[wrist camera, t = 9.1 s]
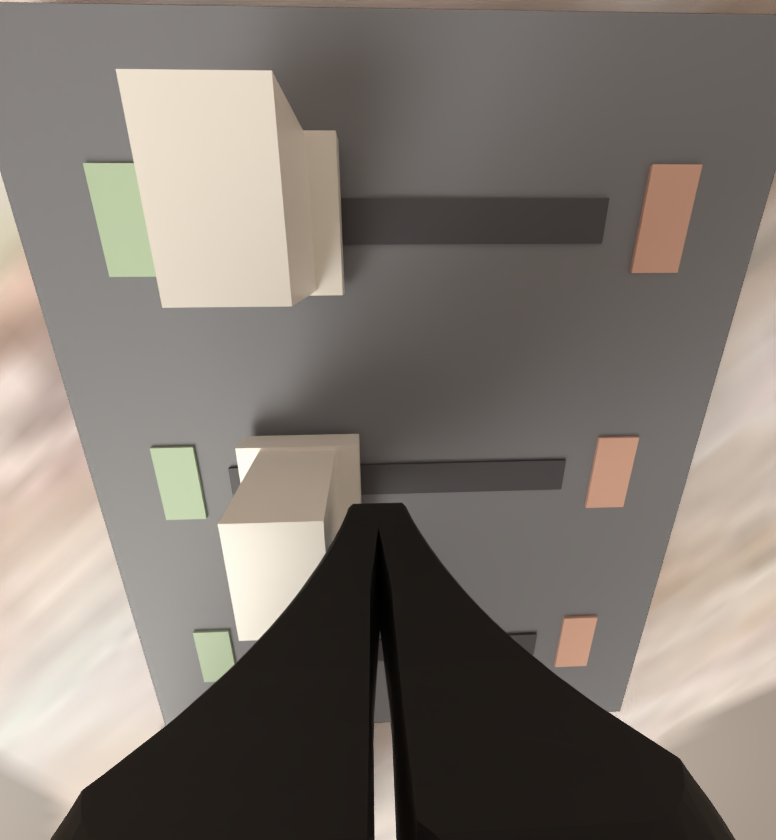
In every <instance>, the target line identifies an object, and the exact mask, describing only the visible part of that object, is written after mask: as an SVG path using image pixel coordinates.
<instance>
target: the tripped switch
mask: <svg viewBox="0 0 776 840" xmlns="http://www.w3.org/2000/svg"><path fill="white" fill-rule="evenodd" d="M235 451H236V457H237V464H238V470H239V477H240V483H241V484H240V486H239V487H238V489H237V491H236V493H235V494H234V496H233V498H232V500H231V502H230V503H229V505H228V507H227V509H226V510H225V512H224V514H223V516H222V517H221V519H220V521H219V523H218V529H219V534H220V540H221V545H222V551H223V556H224V562H225V567H226V573H227V578H228V584H229V589H230V595H231V600H232V606H233V611H234V617H235V622H236V628H237V633H238V639H239V641H251V640H258V639H259V638H260V637H261V636H262V635H263V634H264V633H265V632H266V631H267V630H268V629H269V628H270V627H271V625H272V624H273V623H274V622H275V621H276V620H277V618H278V617H279V616H280V615H281V614H282V613H283V611H284V610H285V609H286V608H287V607H288V605H289V604H290V603H291V602H292V600H293V599H294V598H295V596H296V595H297V594H298V593H299V591H300V590H301V589H302V587H303V586H304V584H305V583H306V581H307V580H308V579H309V577H310V576H311V574H312V573H313V571H314V570H315V569H316V567H317V566H318V564H319V563H320V561H321V560H322V558H323V556H324V555H325V553H326V551H327V550H328V548H329V546H330V545H331V543H332V541H333V540H334V538H335V536H336V534H337V532H338V531H339V529H340V527H341V525H342V523H343V521H344V518H345V516H346V514H347V511H348V508H349V507H350V506H351V505H352V504H361V474H360V443H359V434H323V435H276V436H244V437H243V438H242V439H241V441H240V442H239V444H238V445H237V447H236V448H235Z"/></svg>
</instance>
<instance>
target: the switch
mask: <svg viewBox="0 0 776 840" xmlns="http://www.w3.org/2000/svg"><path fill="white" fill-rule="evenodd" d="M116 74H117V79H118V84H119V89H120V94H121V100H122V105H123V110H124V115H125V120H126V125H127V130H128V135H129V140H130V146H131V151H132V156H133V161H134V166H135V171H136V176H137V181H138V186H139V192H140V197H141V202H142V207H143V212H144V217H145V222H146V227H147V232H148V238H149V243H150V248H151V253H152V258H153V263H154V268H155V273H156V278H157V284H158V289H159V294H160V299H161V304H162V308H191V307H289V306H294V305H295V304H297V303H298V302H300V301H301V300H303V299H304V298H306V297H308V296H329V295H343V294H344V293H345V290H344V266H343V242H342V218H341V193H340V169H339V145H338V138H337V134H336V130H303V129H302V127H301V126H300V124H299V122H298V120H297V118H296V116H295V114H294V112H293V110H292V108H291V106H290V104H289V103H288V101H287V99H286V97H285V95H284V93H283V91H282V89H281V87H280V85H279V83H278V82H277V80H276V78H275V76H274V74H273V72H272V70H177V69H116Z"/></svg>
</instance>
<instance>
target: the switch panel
mask: <svg viewBox="0 0 776 840" xmlns="http://www.w3.org/2000/svg"><path fill="white" fill-rule="evenodd" d="M116 69H177V70H272V72H273V74H274V76H275V78H276V80H277V82H278V83H279V85H280V87H281V89H282V91H283V93H284V95H285V97H286V99H287V101H288V103H289V104H290V106H291V108H292V110H293V112H294V114H295V116H296V118H297V120H298V122H299V124H300V126H301V127H302V129H303V130H336V134H337V138H338V145H339V169H340V193H341V218H342V242H343V266H344V290H345V293H344V294H343V295H329V296H308V297H306V298H304V299H303V300H301V301H300V302H298V303H297V304H295V305H294V306H289V307H191V308H162V304H161V299H160V294H159V289H158V284H157V278H156V273H155V268H154V263H153V258H152V253H151V248H150V243H149V238H148V232H147V227H146V222H145V217H144V212H143V207H142V202H141V197H140V192H139V186H138V181H137V176H136V171H135V166H134V161H133V156H132V151H131V146H130V140H129V135H128V130H127V125H126V120H125V115H124V110H123V105H122V100H121V94H120V89H119V84H118V79H117V74H116ZM775 170H776V15H775V14H713V13H651V12H589V11H526V10H464V9H402V8H339V7H277V6H215V5H153V4H90V3H28V2H0V172H1V175H2V178H3V182H4V185H5V188H6V192H7V195H8V198H9V202H10V205H11V209H12V212H13V215H14V219H15V222H16V225H17V229H18V232H19V235H20V239H21V242H22V245H23V249H24V252H25V256H26V259H27V262H28V266H29V269H30V272H31V276H32V279H33V282H34V286H35V289H36V292H37V296H38V299H39V303H40V306H41V309H42V313H43V316H44V319H45V323H46V326H47V329H48V333H49V336H50V340H51V343H52V346H53V350H54V353H55V356H56V360H57V363H58V366H59V370H60V373H61V376H62V380H63V383H64V387H65V390H66V393H67V397H68V400H69V403H70V407H71V410H72V413H73V417H74V420H75V423H76V427H77V430H78V434H79V437H80V440H81V444H82V447H83V450H84V454H85V457H86V460H87V464H88V467H89V471H90V474H91V477H92V481H93V484H94V487H95V491H96V494H97V497H98V501H99V504H100V507H101V511H102V514H103V518H104V521H105V524H106V528H107V531H108V534H109V538H110V541H111V544H112V548H113V551H114V554H115V558H116V561H117V565H118V568H119V571H120V575H121V578H122V581H123V585H124V588H125V591H126V595H127V598H128V602H129V605H130V608H131V612H132V615H133V618H134V622H135V625H136V628H137V632H138V635H139V638H140V642H141V645H142V649H143V652H144V655H145V659H146V662H147V665H148V669H149V672H150V675H151V679H152V682H153V685H154V689H155V692H156V696H157V699H158V702H159V706H160V709H161V712H162V716H163V719H164V722H165V726H166V725H167V724H169V723H170V722H171V721H172V720H173V719H175V718H176V717H177V716H178V715H179V714H180V713H182V712H183V711H184V710H185V709H186V708H187V707H188V706H189V705H190V704H192V703H193V702H194V701H195V700H196V699H197V698H198V697H199V696H200V695H202V694H203V693H204V692H205V691H206V690H207V689H208V688H209V687H210V686H212V685H213V684H214V683H215V682H216V681H217V680H218V679H219V678H220V677H222V676H223V675H224V674H225V673H226V672H227V671H228V670H229V669H230V668H231V667H232V666H233V665H234V664H235V663H236V662H237V661H238V660H239V659H240V658H241V657H242V656H243V655H244V654H245V653H246V652H247V651H248V650H249V649H250V648H251V647H252V646H253V645H254V644H255V643H256V642H257V640H251V641H239V639H238V633H237V628H236V622H235V617H234V611H233V606H232V600H231V595H230V589H229V584H228V578H227V573H226V567H225V562H224V556H223V551H222V545H221V540H220V534H219V529H218V523H219V521H220V519H221V517H222V516H223V514H224V512H225V510H226V509H227V507H228V505H229V503H230V502H231V500H232V498H233V496H234V494H235V493H236V491H237V489H238V487H239V486H240V484H241V483H240V477H239V470H238V464H237V457H236V451H235V448H236V447H237V445H238V444H239V442H240V441H241V439H242V438H243V437H244V436H276V435H323V434H359V443H360V474H361V504H364V503H403V504H404V505H405V506H406V507H407V509H408V512H409V514H410V516H411V517H412V519H413V521H414V523H415V524H416V526H417V528H418V529H419V531H420V532H421V534H422V536H423V537H424V539H425V540H426V542H427V543H428V545H429V546H430V547H431V549H432V550H433V551H434V553H435V554H436V556H437V557H438V558H439V560H440V561H441V562H442V564H443V565H444V566H445V568H446V569H447V570H448V571H449V573H450V574H451V575H452V576H453V577H454V579H455V580H456V581H457V582H458V583H459V585H460V586H461V587H462V588H463V589H464V590H465V591H466V593H467V594H468V595H469V596H470V597H471V598H472V599H473V600H474V601H475V602H476V603H477V604H478V606H479V607H480V608H481V609H482V610H483V611H484V612H485V613H486V614H487V615H488V616H489V617H490V618H491V619H492V620H493V621H494V622H495V623H497V624H498V625H499V626H500V627H501V628H502V629H503V630H504V631H505V632H506V633H507V634H508V635H509V636H510V637H512V638H513V639H514V640H515V641H516V642H517V643H518V644H520V645H521V646H522V647H523V648H524V649H526V650H527V651H528V652H529V653H530V654H532V655H533V656H534V657H535V658H537V659H538V660H539V661H540V662H541V663H543V664H544V665H545V666H546V667H547V668H549V669H550V670H551V671H552V672H553V673H555V674H556V675H557V676H559V677H560V678H561V679H563V680H564V681H565V682H567V683H568V684H569V685H571V686H572V687H574V688H575V689H576V690H578V691H579V692H580V693H582V694H583V695H584V696H586V697H587V698H589V699H590V700H591V701H593V702H594V703H595V704H597V705H598V706H600V707H601V708H603V709H604V710H606V711H607V712H615V711H620V709H621V705H622V702H623V698H624V695H625V691H626V688H627V684H628V681H629V677H630V674H631V670H632V667H633V663H634V660H635V656H636V653H637V650H638V646H639V643H640V639H641V636H642V632H643V629H644V625H645V622H646V618H647V615H648V611H649V608H650V604H651V601H652V597H653V594H654V590H655V587H656V584H657V580H658V577H659V573H660V570H661V566H662V563H663V559H664V556H665V552H666V549H667V545H668V542H669V538H670V535H671V531H672V528H673V524H674V521H675V517H676V514H677V511H678V507H679V504H680V500H681V497H682V493H683V490H684V486H685V483H686V479H687V476H688V472H689V469H690V465H691V462H692V458H693V455H694V451H695V448H696V445H697V441H698V438H699V434H700V431H701V427H702V424H703V420H704V417H705V413H706V410H707V406H708V403H709V399H710V396H711V392H712V389H713V385H714V382H715V378H716V375H717V372H718V368H719V365H720V361H721V358H722V354H723V351H724V347H725V344H726V340H727V337H728V333H729V330H730V326H731V323H732V319H733V316H734V312H735V309H736V305H737V302H738V299H739V295H740V292H741V288H742V285H743V281H744V278H745V274H746V271H747V267H748V264H749V260H750V257H751V253H752V250H753V246H754V243H755V239H756V236H757V233H758V229H759V226H760V222H761V219H762V215H763V212H764V208H765V205H766V201H767V198H768V194H769V191H770V187H771V184H772V180H773V177H774V173H775ZM382 722H391V718H390V709H389V701H388V693H387V685H386V676H385V668H384V660H383V652H382V644H381V635H380V637H379V652H378V667H377V681H376V696H375V711H374V723H382Z"/></svg>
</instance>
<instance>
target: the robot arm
mask: <svg viewBox="0 0 776 840" xmlns="http://www.w3.org/2000/svg"><path fill="white" fill-rule="evenodd" d="M380 635H381V644H382V652H383V660H384V668H385V676H386V685H387V693H388V701H389V709H390V718H391V730H392V744H393V767H394V791H395V815H396V839H397V840H735V838H734V837H733V835H732V834H731V832H730V830H729V829H728V827H727V825H726V824H725V822H724V821H723V819H722V818H721V816H720V815H719V814H718V812H717V810H716V809H715V807H714V806H713V804H712V803H711V801H710V800H709V798H708V797H707V796H706V794H705V793H704V792H703V790H702V789H701V788H700V786H699V785H698V784H697V782H696V781H695V780H694V778H693V777H692V776H691V774H690V773H689V771H688V770H687V769H686V767H685V765H684V764H683V763H682V761H681V760H680V759H679V758H678V757H677V756H675V755H673V754H672V753H670V752H669V751H667V750H666V749H664V748H663V747H661V746H660V745H658V744H656V743H655V742H653V741H652V740H650V739H649V738H647V737H646V736H644V735H643V734H641V733H640V732H638V731H636V730H635V729H633V728H632V727H630V726H629V725H627V724H626V723H624V722H623V721H621V720H619V719H618V718H616V717H615V716H613V715H612V714H610V713H609V712H607V711H606V710H604V709H603V708H601V707H600V706H598V705H597V704H595V703H594V702H593V701H591V700H590V699H589V698H587V697H586V696H584V695H583V694H582V693H580V692H579V691H578V690H576V689H575V688H574V687H572V686H571V685H569V684H568V683H567V682H565V681H564V680H563V679H561V678H560V677H559V676H557V675H556V674H555V673H553V672H552V671H551V670H550V669H549V668H547V667H546V666H545V665H544V664H543V663H541V662H540V661H539V660H538V659H537V658H535V657H534V656H533V655H532V654H530V653H529V652H528V651H527V650H526V649H524V648H523V647H522V646H521V645H520V644H518V643H517V642H516V641H515V640H514V639H513V638H512V637H510V636H509V635H508V634H507V633H506V632H505V631H504V630H503V629H502V628H501V627H500V626H499V625H498V624H497V623H495V622H494V621H493V620H492V619H491V618H490V617H489V616H488V615H487V614H486V613H485V612H484V611H483V610H482V609H481V608H480V607H479V606H478V604H477V603H476V602H475V601H474V600H473V599H472V598H471V597H470V596H469V595H468V594H467V593H466V591H465V590H464V589H463V588H462V587H461V586H460V585H459V583H458V582H457V581H456V580H455V579H454V577H453V576H452V575H451V574H450V573H449V571H448V570H447V569H446V568H445V566H444V565H443V564H442V562H441V561H440V560H439V558H438V557H437V556H436V554H435V553H434V551H433V550H432V549H431V547H430V546H429V545H428V543H427V542H426V540H425V539H424V537H423V536H422V534H421V532H420V531H419V529H418V528H417V526H416V524H415V523H414V521H413V519H412V517H411V516H410V514H409V512H408V509H407V507H406V506H405V505H404V504H403V503H364V504H352V505H351V506H350V507H349V508H348V511H347V514H346V516H345V518H344V521H343V523H342V525H341V527H340V529H339V531H338V532H337V534H336V536H335V538H334V540H333V541H332V543H331V545H330V546H329V548H328V550H327V551H326V553H325V555H324V556H323V558H322V560H321V561H320V563H319V564H318V566H317V567H316V569H315V570H314V571H313V573H312V574H311V576H310V577H309V579H308V580H307V581H306V583H305V584H304V586H303V587H302V589H301V590H300V591H299V593H298V594H297V595H296V596H295V598H294V599H293V600H292V602H291V603H290V604H289V605H288V607H287V608H286V609H285V610H284V611H283V613H282V614H281V615H280V616H279V617H278V618H277V620H276V621H275V622H274V623H273V624H272V625H271V627H270V628H269V629H268V630H267V631H266V632H265V633H264V634H263V635H262V636H261V637H260V638H259V639H258V640H257V642H256V643H255V644H254V645H253V646H252V647H251V648H250V649H249V650H248V651H247V652H246V653H245V654H244V655H243V656H242V657H241V658H240V659H239V660H238V661H237V662H236V663H235V664H234V665H233V666H232V667H231V668H230V669H229V670H228V671H227V672H226V673H225V674H224V675H223V676H222V677H220V678H219V679H218V680H217V681H216V682H215V683H214V684H213V685H212V686H210V687H209V688H208V689H207V690H206V691H205V692H204V693H203V694H202V695H200V696H199V697H198V698H197V699H196V700H195V701H194V702H193V703H192V704H190V705H189V706H188V707H187V708H186V709H185V710H184V711H183V712H182V713H180V714H179V715H178V716H177V717H176V718H175V719H173V720H172V721H171V722H170V723H169V724H167V725H166V726H165V727H164V728H163V729H161V730H160V731H159V732H158V733H156V734H155V735H154V736H152V737H151V738H150V739H149V740H147V741H146V742H145V743H143V744H142V745H141V746H140V747H138V748H137V749H136V750H134V751H133V752H132V753H131V754H129V755H128V756H127V757H125V758H124V759H123V760H122V761H120V762H119V763H118V764H116V765H115V766H114V767H113V768H111V769H110V770H109V771H107V772H106V773H105V774H104V775H102V776H101V777H100V778H98V779H97V780H95V781H94V782H93V783H91V784H90V785H89V786H87V787H86V788H85V789H83V790H82V791H81V793H80V795H79V796H78V798H77V800H76V801H75V803H74V805H73V806H72V808H71V809H70V811H69V813H68V814H67V816H66V817H65V819H64V820H63V821H62V823H61V824H60V826H59V827H58V829H57V830H56V832H55V833H54V835H53V836H52V838H51V840H374V750H373V738H374V711H375V696H376V681H377V667H378V652H379V637H380Z"/></svg>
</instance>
